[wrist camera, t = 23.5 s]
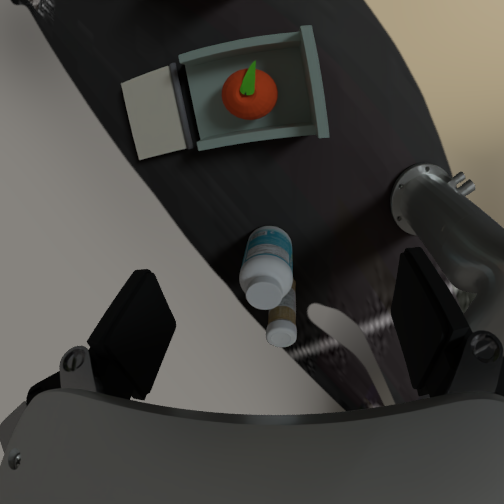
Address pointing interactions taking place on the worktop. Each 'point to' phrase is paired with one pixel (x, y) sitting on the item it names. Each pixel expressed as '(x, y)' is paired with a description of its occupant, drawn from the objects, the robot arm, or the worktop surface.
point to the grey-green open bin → (278, 68)
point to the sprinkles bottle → (283, 321)
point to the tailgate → (157, 112)
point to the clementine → (249, 93)
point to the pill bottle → (267, 267)
